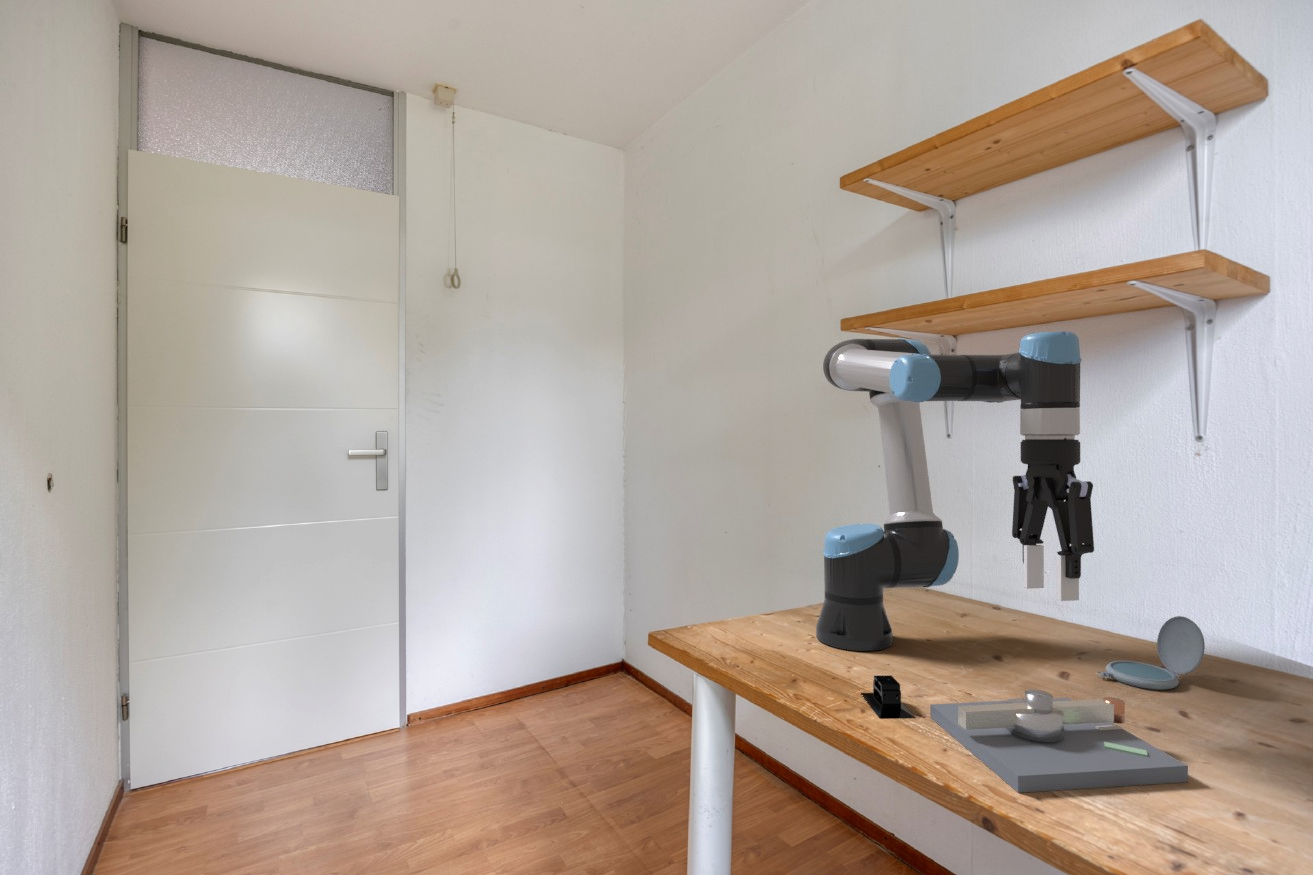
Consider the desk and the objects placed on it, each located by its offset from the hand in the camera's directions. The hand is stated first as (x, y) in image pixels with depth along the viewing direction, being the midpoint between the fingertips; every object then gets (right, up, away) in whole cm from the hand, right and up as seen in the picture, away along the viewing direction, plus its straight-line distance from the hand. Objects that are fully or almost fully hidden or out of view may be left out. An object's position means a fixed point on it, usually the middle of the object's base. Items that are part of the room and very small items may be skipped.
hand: (1050, 593), depth 94 cm
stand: (-5, -19, -7) cm, 21 cm away
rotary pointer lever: (-6, -17, -7) cm, 19 cm away
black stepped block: (-22, -20, +6) cm, 30 cm away
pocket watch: (+26, -19, +15) cm, 35 cm away
